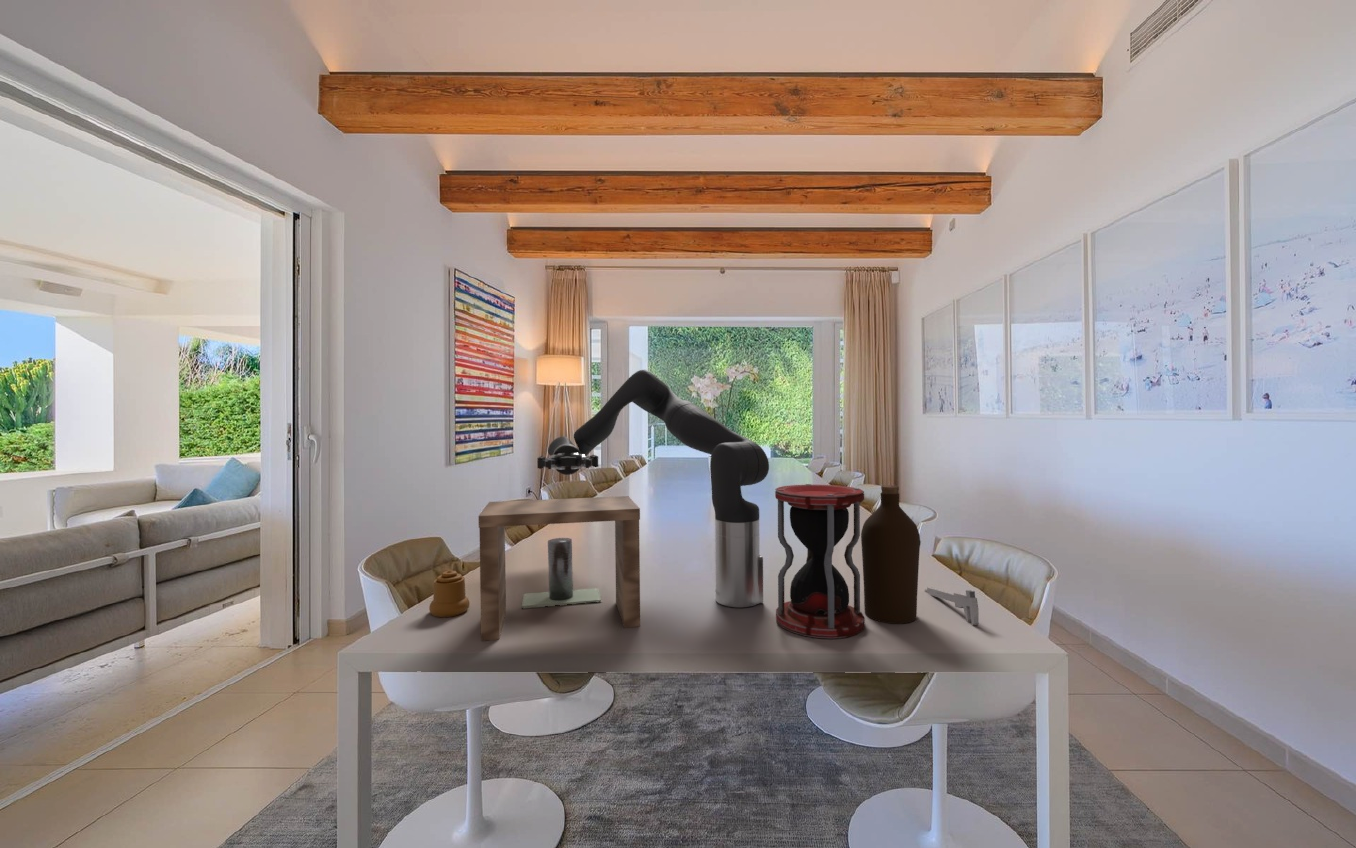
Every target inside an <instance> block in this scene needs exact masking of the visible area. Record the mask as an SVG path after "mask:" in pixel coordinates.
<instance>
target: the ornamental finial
mask: <svg viewBox="0 0 1356 848" xmlns="http://www.w3.org/2000/svg"><path fill="white" fill-rule="evenodd" d="M432 597H433V598H432V601H431V602H430V604H429V607H428V608H429V612H430V614H431V615H432V616H434V617H435V618H449V617H450V618H451V617H456V616H459V615H461V614H464V613H465V612H467V610H469V608H470V603H471V602H470V600H469V597H467V596H466V582H465V576H462V574H461V573H458V572H457V571H456V570H446V571H443V572H442V573H441V574H440V575H438V576H437V578H436V579H434V581H433V596H432Z"/></svg>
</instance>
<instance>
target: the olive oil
mask: <svg viewBox="0 0 1356 848" xmlns="http://www.w3.org/2000/svg"><path fill="white" fill-rule="evenodd" d="M880 488H881V492H880V505H879V507H878V508H877V509H876V510H875V511H874V512H872V514H871V515H869V516H868V518H867V519H866V520H865V521H864V523H863V525H862V528H861V531H860V541H861V542H860V543H861V554H862V555H861V558H862V559H861V561H862V576H863V577H862V578H863V580H862V581H863V599H864V600H863V602H864V605H863V606H864V608H863V609H864V614H865V615H866V616H867V617H869V618H871V619H872V620H875V621H877V622H881V623H887V624H899V625H900V624H908V623H909V624H910V623H912V622H915V620H916V619H917V617H918V616H917V614H918V613H917V611H918V586H919V567H920V566H919V565H920V552H921V551H920V549H921V543H922V542H921V536H920V532H919V529H918V527H917V524H916V523H915V522H914V521H913V520H912V518H911V517H910V516H909V515H908V514H907V513H906V512H905V511H904V510H903V508H902V507H901V506H900V493H899V489H900V487H899V486H898V485H891V484H890V485H889V484H887V485H886V484H885V485H881V487H880Z"/></svg>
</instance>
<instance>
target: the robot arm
mask: <svg viewBox="0 0 1356 848" xmlns="http://www.w3.org/2000/svg"><path fill="white" fill-rule="evenodd" d="M631 403H633V404H634V405H636V406H638V407H639V408H640V409H642V410H643V411H645V412H647V413H649V414H651V415H653V416H655V417H656V418H657V419H659V420H661V421H663V422H664V424H665V427H666V429H667V430H668V432H670V434H671V435H672V436H673V437H674V438H675V439H676V440H678V441H680V443H682V444H683V445H685V446H686V447H688V448H691V449H693V450H696V451H698V452H702V453H704V454H707V455H711V456H710V460H709V461H710V463H709V465H710V466H709V470H710V486H711V500H712V501H711V502H712V505H713V507H712V508H714V519H715V520H714V525H715V527H714V530H715V531H714V533H715V535H714V537H715V540H714V542H715V544H714V545H715V552H714V553H715V555H714V557H715V560H714V561H715V591H714V593H715V601H716V603H718V604H719V605H722V606H725V607H729V608H747V607H753V606H756V605H759V604H763V603H764V557H763V556H762V555H761V553H760V551H761V550H760V549H761V548H760V507H759V505H758V504H756V503H755V502H750V501H748V500H746V499H745V498H744V497H743V494H742V487H743V486H744V487H745V486H752V485H756V484H758V483H761V482H762V481H763V480H765V479H766V477H767V476H768V474H769V470H770V462H769V458H768V456H767V454H766V452H765V450H764V449H763V448H762V447H761V446H760V445H759V444H758V443H756V442H755V441H753V440H751V439H749V438H747V437H745V436H744V435H741V434H740V433H739V434H738V433H737V432H736V431H734V430H731V429H730V428H729V427H727V426H726V425H725V424H723V423H722V422H721V421H719V420H717V419H716V418H714V417H713V416H712V415H710V414H709V413H708V412H706V411H705V410H704V409H702V408H701V407H699V406H698V405H697V404H695V403H693V402H692V401H689V400H684V399H681V398H680V397H679V396H678V395H676V394H675V393H674V391H673V390H672V389H671V388H670V387H669V386H668V385H667V383H665V382H664V381H663V380H662V379H660V378H659V377H657V376H656V375H655V374H654V373H653V372H651V371H649V370H647V369H639V370H638V371H635V372H634V373H633V374H631V376H630V377H629V378H627V380H625V381H624V383H623V384H622V385H621V386H619V388H618V390H617V391H615V392H614V394H613V395H612V396H611V397H610V398H609V400H607V402H606V403H605V404H604V405H603V407H602V408H600V410H599V411H598V412H597V413H596V414H594V415H593V416H592V417H591V418H590V419H588V420H587V421H586V422H585V423H584V424H582V425H581V426H580V427H578V429H576V430H575V432H574V433H573V439H574V442H575V444H576V445H575V444H574V443H573V442H572V441H571V439H569V438H568V436H559V437H556V438H555V439H554V440H552V441H551V442H550V444H549V446H548V448H547V453H548V455H549V457H546V456H543V455H540V456H538V457H537V459H536V460H537V463H536V464H537V469H539V470H541V469H543V468H545V469H547V470H555V471H556V472H557V473H559V474H561V475H564V476H565V475H566V476H569V475H570V476H571V475H573V474H576V473H577V472H578V471H579V470H582V469H590V468H592V467H593V468H598V467H599V456H598V455H596V454H590V453H591V452H592V450H594V449H595V448H597V446H599V445H601V443H602V442H604V441H605V440H607V438H608V437H610V435H611V434H612V432H613V431H614V428H615V427H616V423H617V420H618V417H619V414H620V412H621V411H622V410H623V409H624V408H625V407H626V406H627V405H629V404H631ZM589 454H590V455H589Z"/></svg>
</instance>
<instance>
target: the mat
mask: <svg viewBox="0 0 1356 848" xmlns="http://www.w3.org/2000/svg"><path fill="white" fill-rule="evenodd" d="M599 590H600V589H599V588H598V587H597V588H583V589H573V597H572V598H570V599H566V600H551V599H550V598H549V591H542V592H530V593H523V597H522V604H521V609H522V608H523V609H533V608H545V606H548V607H556V606H555V605H560V606H568V605H567V604H572V605H577V604H576V603H585V604H587V603H586V602H596V601H601V602H602V598H601V597H602V596H601V594H600V591H599Z"/></svg>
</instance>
